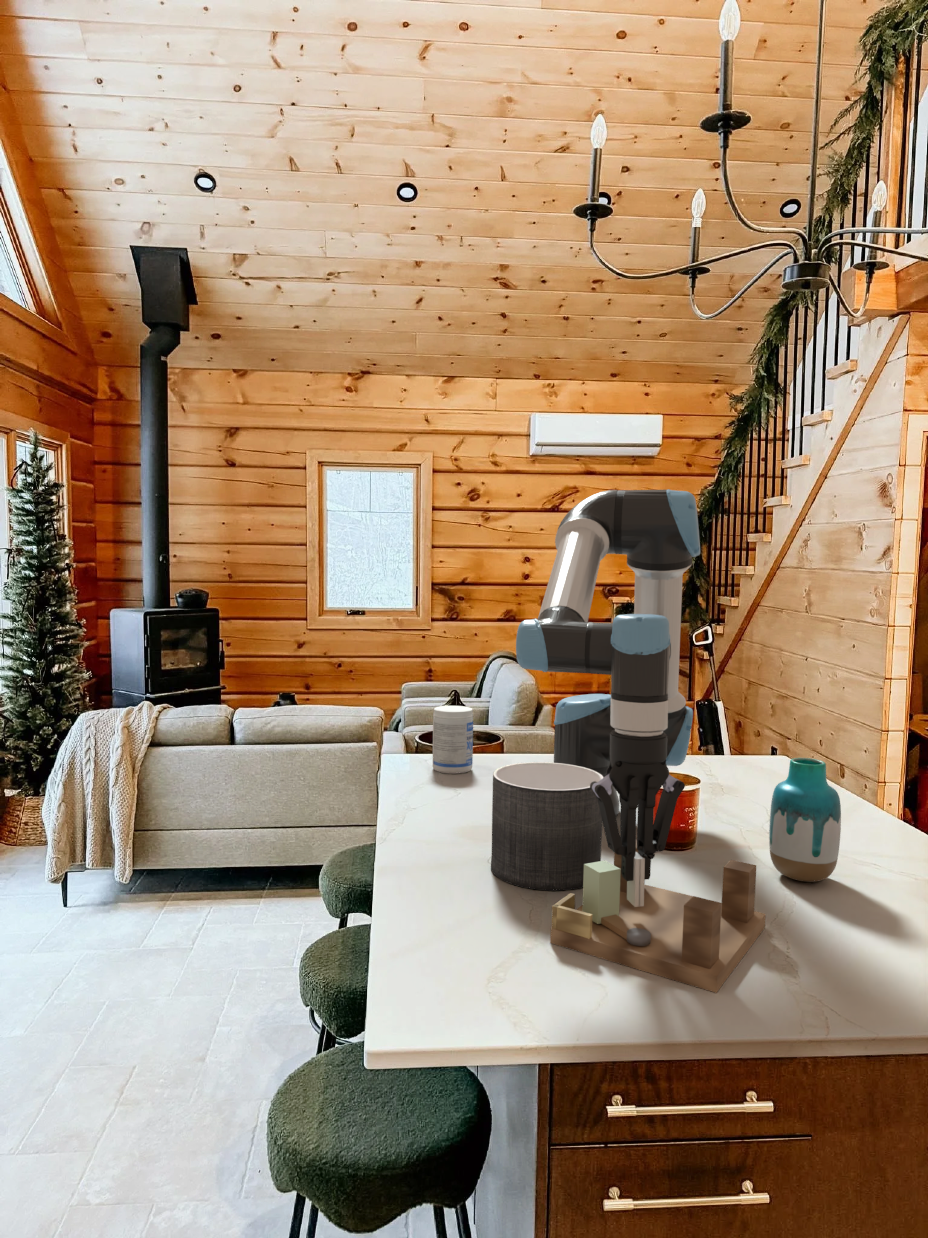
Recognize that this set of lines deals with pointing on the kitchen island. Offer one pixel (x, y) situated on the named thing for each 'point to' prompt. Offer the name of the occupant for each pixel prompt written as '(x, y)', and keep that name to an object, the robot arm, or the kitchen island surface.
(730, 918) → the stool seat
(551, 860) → the planter
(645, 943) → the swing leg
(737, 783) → the kitchen island surface
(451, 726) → the supplement tub
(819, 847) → the vase
